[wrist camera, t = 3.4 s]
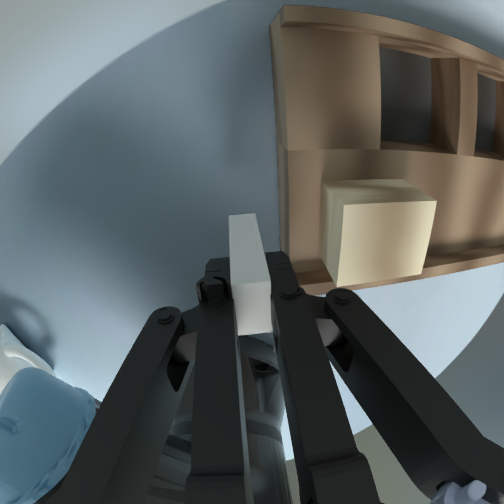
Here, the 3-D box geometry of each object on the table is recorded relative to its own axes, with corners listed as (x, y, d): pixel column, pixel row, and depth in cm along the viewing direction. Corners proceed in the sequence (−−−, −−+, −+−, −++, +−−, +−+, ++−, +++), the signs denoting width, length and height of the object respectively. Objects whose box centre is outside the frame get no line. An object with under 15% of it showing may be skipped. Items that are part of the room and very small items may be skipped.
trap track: (280, 256, 25) (293, 298, 20) (269, 26, 16) (283, 4, 11) (511, 231, 26) (539, 253, 21) (530, 89, 17) (565, 98, 12)
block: (318, 252, 20) (336, 286, 17) (320, 181, 18) (343, 205, 14) (393, 244, 20) (420, 274, 17) (403, 179, 18) (436, 200, 14)
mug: (34, 377, 32) (18, 418, 25) (-11, 330, 27) (-35, 371, 20) (80, 365, 31) (63, 417, 24) (27, 308, 26) (-3, 359, 19)
